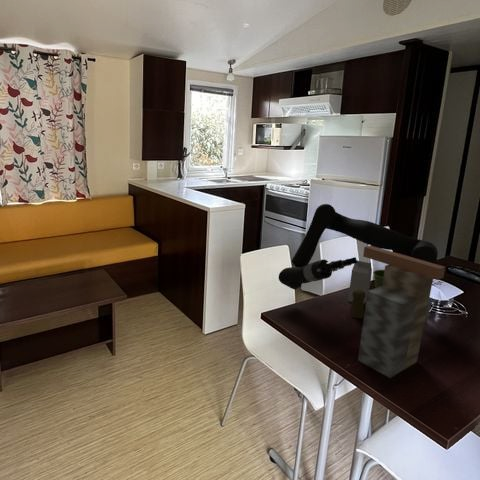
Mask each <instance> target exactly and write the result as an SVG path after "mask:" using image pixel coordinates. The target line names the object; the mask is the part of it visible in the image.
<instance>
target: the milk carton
mask: <svg viewBox="0 0 480 480" xmlns="http://www.w3.org/2000/svg"><path fill="white" fill-rule="evenodd" d="M356 260H357V263H354V264H353V267H352V269H351V274H350V275H351V276H350V284H349V288H348V289H349V292H348V298H347V302H350V303H352V301H353V295H352V294H353V291H354V290H362V291H364V292H365V298H364V299H363V301H364V305H366V300H367V293H368V291H369V290H370V285H371V278H372V273H373V271H372V270H373V268H372V262H367V261H363V260H358V259H356Z"/></svg>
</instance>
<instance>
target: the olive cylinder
mask: <svg viewBox="0 0 480 480" xmlns="http://www.w3.org/2000/svg"><path fill="white" fill-rule="evenodd" d="M352 295H353V301H352V302H351V305H350V309H349V311H348V315H349V316H350V317H351V318H353V319H362V318H363V319H364V314H365V308H364V306H365V304H364V301H363V299H364V298H365V292H364V291H362V290H354V291H353V294H352Z"/></svg>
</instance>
